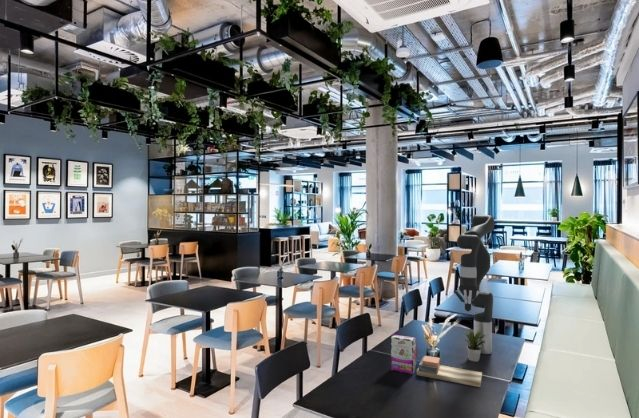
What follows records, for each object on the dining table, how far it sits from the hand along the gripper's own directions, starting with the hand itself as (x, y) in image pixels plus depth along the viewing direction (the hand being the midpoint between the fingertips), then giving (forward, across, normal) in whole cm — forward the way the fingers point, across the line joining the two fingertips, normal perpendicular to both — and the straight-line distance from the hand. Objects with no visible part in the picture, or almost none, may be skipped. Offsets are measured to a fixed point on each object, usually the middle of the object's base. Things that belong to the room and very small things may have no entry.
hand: (467, 310), depth 193 cm
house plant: (+29, -2, -14) cm, 32 cm away
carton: (+27, +15, +11) cm, 33 cm away
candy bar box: (+29, +28, +15) cm, 43 cm away
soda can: (+29, +27, +6) cm, 40 cm away
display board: (+29, +7, +11) cm, 32 cm away
